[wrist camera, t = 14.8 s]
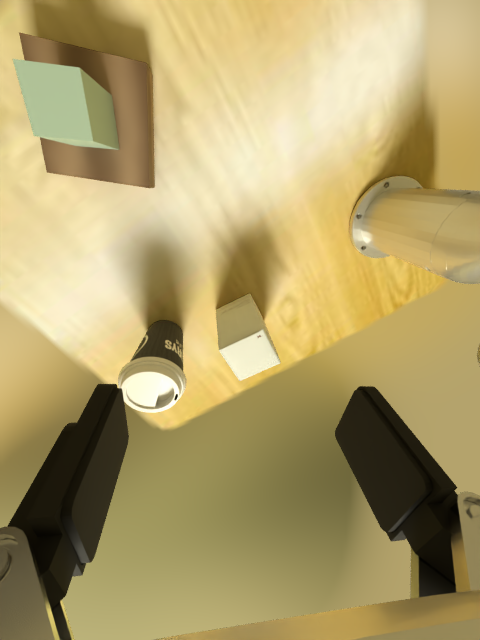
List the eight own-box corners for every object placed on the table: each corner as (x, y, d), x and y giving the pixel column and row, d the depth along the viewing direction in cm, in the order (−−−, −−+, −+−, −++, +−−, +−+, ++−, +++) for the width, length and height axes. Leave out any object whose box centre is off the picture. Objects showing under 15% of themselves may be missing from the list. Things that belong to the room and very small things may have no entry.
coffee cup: (172, 362, 51) (160, 424, 38) (129, 338, 47) (100, 399, 34) (200, 331, 48) (199, 387, 35) (157, 303, 44) (138, 354, 31)
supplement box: (214, 309, 46) (217, 349, 35) (250, 292, 45) (264, 327, 34) (231, 337, 50) (238, 382, 39) (265, 322, 49) (282, 363, 38)
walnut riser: (153, 76, 30) (146, 62, 26) (155, 187, 36) (149, 188, 32) (42, 50, 28) (19, 32, 24) (63, 173, 33) (46, 172, 30)
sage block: (111, 95, 27) (79, 67, 20) (119, 149, 30) (93, 141, 23) (62, 89, 27) (12, 58, 20) (75, 145, 29) (34, 135, 22)
